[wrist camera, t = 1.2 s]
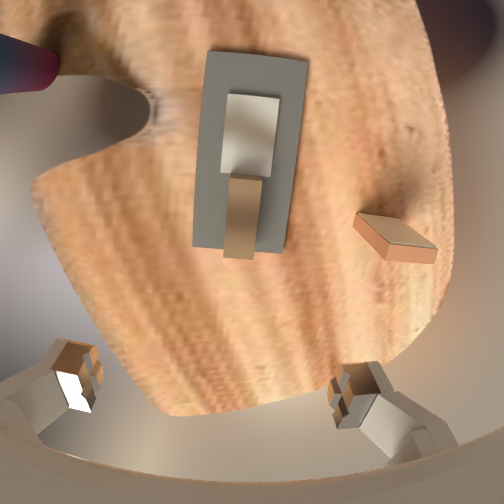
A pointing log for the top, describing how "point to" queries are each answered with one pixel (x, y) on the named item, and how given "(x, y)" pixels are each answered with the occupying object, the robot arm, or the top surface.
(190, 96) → the top surface
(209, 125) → the rest mat
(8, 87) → the cup
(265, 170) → the turner
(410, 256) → the tile
